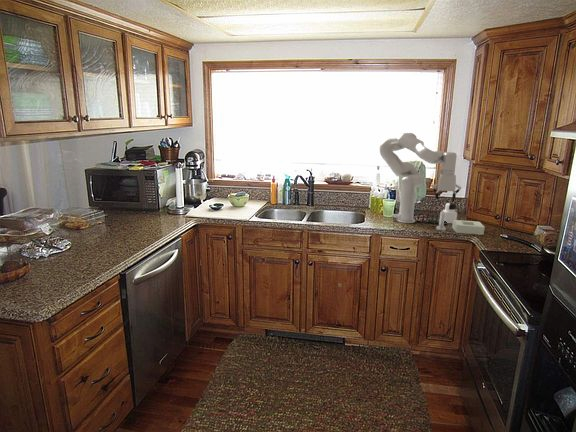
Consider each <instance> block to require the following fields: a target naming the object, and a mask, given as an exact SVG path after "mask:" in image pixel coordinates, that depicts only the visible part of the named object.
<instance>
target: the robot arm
mask: <svg viewBox="0 0 576 432" xmlns="http://www.w3.org/2000/svg"><path fill="white" fill-rule="evenodd" d="M404 149H407V150H409V151H411V152H413V153H414V154H415V155H416V156H417V157H418V158H420V159H421V160H423V161H424V162H427V163H429V164H432V165H434V164H435V165H436V164H442V165H441V166H442V167H441V169H440V170H438V172H439V173H440V174H439V176H438V177H439V178H438V181H437V182H438V183H435V184H432V185H431V188H432V190H433V192H435V197H434V198H435V199H436V200H438V199H439V193H440V191H441V192H452V195H451V197H452V198H451V200H452V201H455V199H456V195H457V194H458V193H459V192H460V191H461V189H462V187H461V186H460V185H458V184H457V175H456V174H455V173H456V172H455V170H456V162H457V153H456V152H452V151H447V152H446V151H443V150H436V151H434V150H431V149H429V148H428V147H426V146H425V143H424V141H423V140H420V138H417V136H416V134H414V133H413V132H404V133H401V134H400V135H399V136H398V137H396V138H387V139H386V138H385V139H383V140H382V141H381V143H380V145H379V154H380V156H381V158H382V159H383V160H384V162H385V163H386V164H387V165H388V167H389V168H390V169H391V171H392V173H393V174H394V175H395V176H396V177H402V178H401V181H400V199H399V200H400V201H399V210H398V211H399V212H398V213H397V214H395V213H392V214H391V218H395V220H396V222H399V223H403V224H404V223H405V224H412V223H415V222H416V219H414V213H415V205H416V203H415V202H416V189H417V188H420V187H421V186H422V185H423V183H424V180H423V179H424V178H423V177H422V174H420V172H419V171H418V170H417V168H416V167H415V166H414V164H412V163H411V162H408V161H402V160H401V158H400V157H399V156H398V155H397V154H396V153H395V152H396V151H400V150H404ZM436 187H437V189H436Z"/></svg>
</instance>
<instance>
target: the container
mask: <svg viewBox="0 0 576 432" xmlns="http://www.w3.org/2000/svg"><path fill="white" fill-rule="evenodd" d="M456 207H457V204H456V203H454V202H453V203H452V202H447V203H445V207H444V209H442V211H444V212H445V221H446V222H447V223H446V224H453V220H458V212H457V211H456V210H457V209H456Z"/></svg>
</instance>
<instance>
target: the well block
mask: <svg viewBox="0 0 576 432" xmlns="http://www.w3.org/2000/svg"><path fill="white" fill-rule="evenodd" d="M451 227H452V229H453V231H454V232H455V234H465V235H466V234H467V235H477V236H478V235H479V236H483V235H485V229H486V227H485V226H484V224H482V222H480V221H474V220H473V221H472V220H461V219H460V220H459V219H457V220H453V223H452V226H451Z"/></svg>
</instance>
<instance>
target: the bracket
mask: <svg viewBox="0 0 576 432" xmlns="http://www.w3.org/2000/svg"><path fill="white" fill-rule="evenodd" d="M444 221H445V212H444V211H443V210H441V211H440V213H439V221H438V225H436V230H437V231H446V230H447V228H446V227H445V223H444Z"/></svg>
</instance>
